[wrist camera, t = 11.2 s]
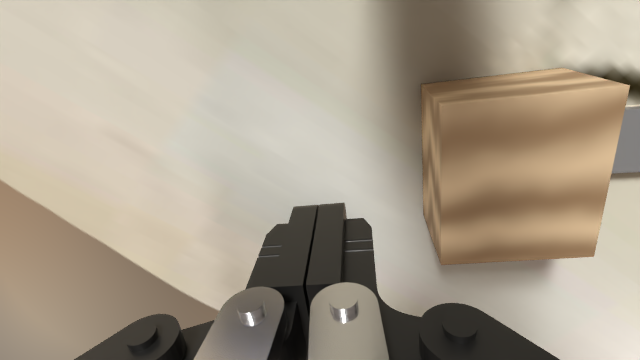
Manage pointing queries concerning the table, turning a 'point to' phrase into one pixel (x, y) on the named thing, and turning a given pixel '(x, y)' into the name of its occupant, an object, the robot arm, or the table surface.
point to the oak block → (518, 164)
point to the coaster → (628, 142)
